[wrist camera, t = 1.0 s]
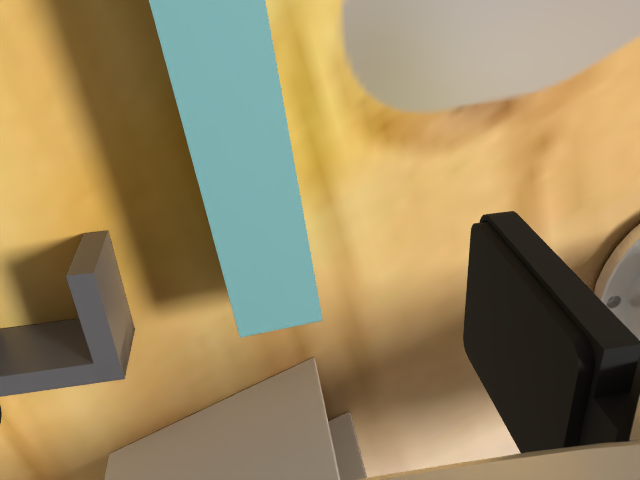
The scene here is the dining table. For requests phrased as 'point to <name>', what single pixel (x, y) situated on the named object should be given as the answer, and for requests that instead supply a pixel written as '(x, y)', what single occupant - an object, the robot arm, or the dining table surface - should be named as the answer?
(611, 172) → the dining table surface
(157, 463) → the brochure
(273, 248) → the slat
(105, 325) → the end cap
